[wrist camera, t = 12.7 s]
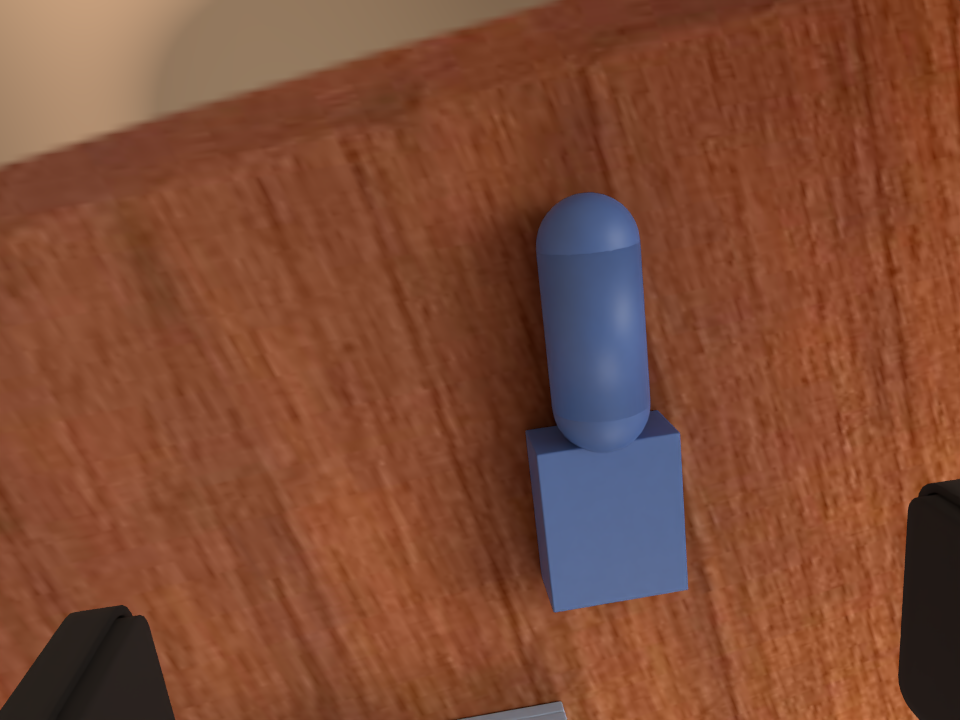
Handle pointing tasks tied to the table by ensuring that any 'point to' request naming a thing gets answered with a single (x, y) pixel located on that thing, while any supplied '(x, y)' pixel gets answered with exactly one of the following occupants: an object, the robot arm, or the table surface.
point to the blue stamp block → (601, 419)
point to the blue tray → (528, 713)
